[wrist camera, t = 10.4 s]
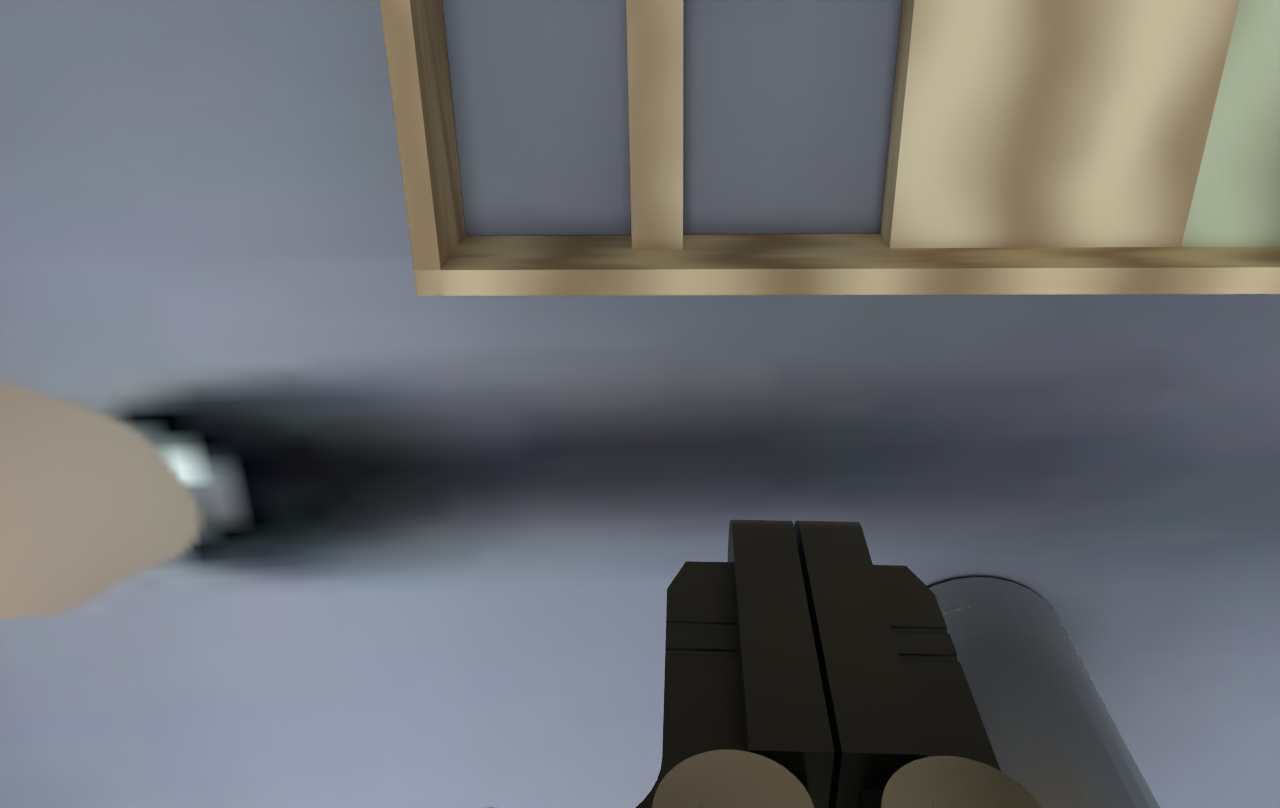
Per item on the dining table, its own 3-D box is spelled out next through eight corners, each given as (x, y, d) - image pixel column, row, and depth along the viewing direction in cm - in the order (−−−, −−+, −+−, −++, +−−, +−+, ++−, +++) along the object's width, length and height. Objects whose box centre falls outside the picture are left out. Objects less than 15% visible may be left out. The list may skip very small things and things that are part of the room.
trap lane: (1605, -220, 31) (1742, -242, 27) (1434, 255, 38) (1522, 293, 34) (394, -187, 33) (353, -204, 29) (444, 259, 40) (417, 295, 36)
